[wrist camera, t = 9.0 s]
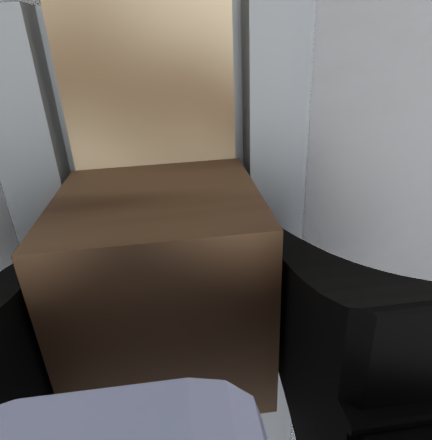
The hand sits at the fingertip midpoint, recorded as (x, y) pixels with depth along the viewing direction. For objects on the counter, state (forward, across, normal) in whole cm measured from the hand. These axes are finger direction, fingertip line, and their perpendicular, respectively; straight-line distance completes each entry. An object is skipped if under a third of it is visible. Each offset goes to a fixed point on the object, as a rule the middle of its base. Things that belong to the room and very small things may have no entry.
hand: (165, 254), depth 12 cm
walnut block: (+1, 0, 0) cm, 1 cm away
